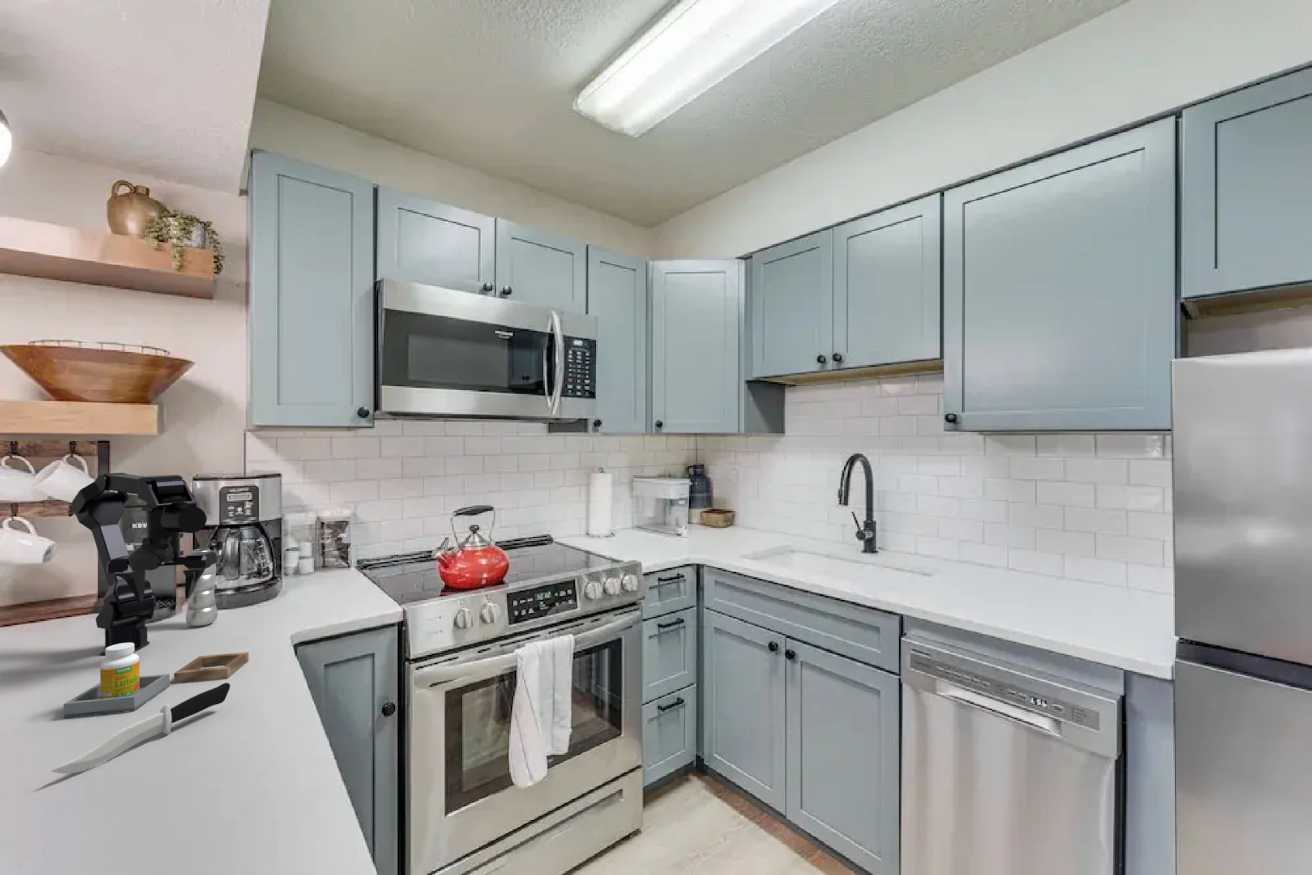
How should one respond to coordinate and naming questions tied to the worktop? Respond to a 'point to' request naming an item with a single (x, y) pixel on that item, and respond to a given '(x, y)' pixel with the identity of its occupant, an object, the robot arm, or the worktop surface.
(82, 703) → the tray
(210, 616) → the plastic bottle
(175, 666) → the worktop surface
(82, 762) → the knife
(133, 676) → the supplement bottle
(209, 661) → the wooden frame
